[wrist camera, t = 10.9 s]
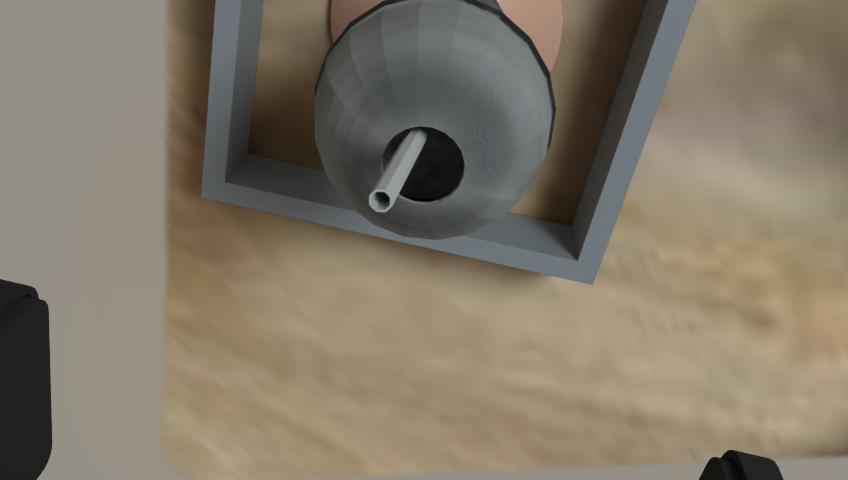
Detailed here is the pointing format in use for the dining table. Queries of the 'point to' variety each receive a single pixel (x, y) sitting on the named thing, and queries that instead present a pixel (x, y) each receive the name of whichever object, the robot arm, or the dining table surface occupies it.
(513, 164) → the beverage cup
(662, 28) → the grey square frame
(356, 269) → the dining table surface
